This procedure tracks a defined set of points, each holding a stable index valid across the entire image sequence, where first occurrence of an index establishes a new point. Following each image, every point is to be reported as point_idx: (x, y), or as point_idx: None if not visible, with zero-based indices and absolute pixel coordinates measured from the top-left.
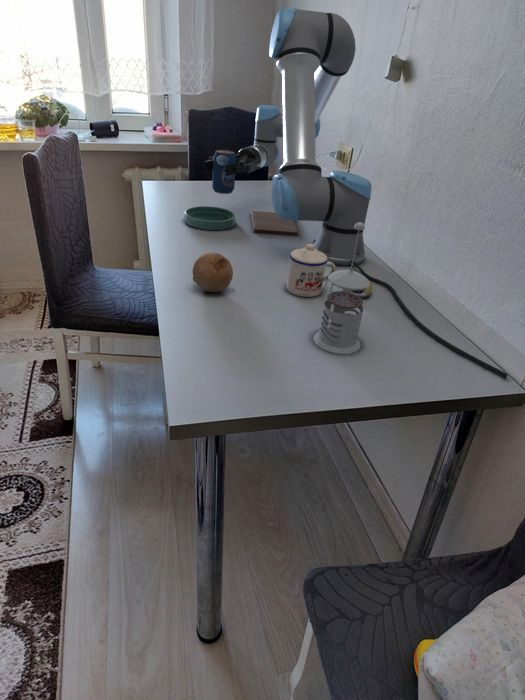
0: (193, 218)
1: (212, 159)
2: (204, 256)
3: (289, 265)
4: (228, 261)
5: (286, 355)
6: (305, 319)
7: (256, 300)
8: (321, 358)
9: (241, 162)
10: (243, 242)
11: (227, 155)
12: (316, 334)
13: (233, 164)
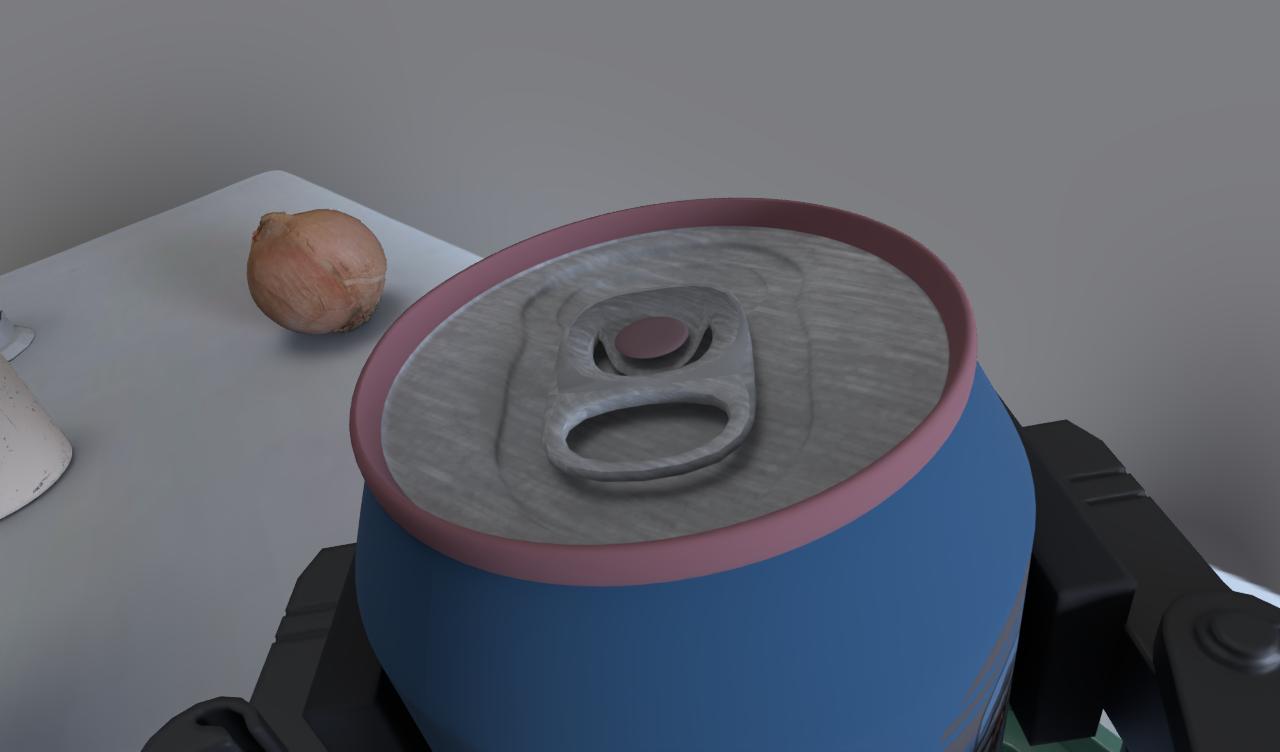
0: None
1: (1038, 459)
2: (324, 210)
3: (16, 382)
4: (250, 253)
5: (111, 283)
6: (38, 375)
7: (190, 358)
8: (31, 310)
9: (205, 714)
10: None
11: (481, 307)
12: (20, 340)
13: None
